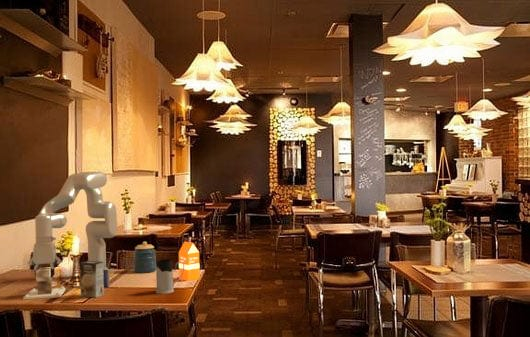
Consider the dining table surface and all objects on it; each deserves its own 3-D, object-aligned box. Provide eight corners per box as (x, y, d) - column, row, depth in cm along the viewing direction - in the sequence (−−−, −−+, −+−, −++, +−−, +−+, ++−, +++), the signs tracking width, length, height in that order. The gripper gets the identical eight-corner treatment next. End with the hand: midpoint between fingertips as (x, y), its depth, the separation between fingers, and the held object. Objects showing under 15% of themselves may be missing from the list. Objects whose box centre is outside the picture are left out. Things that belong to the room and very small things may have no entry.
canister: (138, 269, 321) (138, 240, 321) (159, 269, 319) (158, 239, 319) (130, 273, 308) (129, 243, 308) (151, 273, 306) (151, 242, 306)
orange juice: (187, 281, 282) (187, 243, 282) (178, 278, 289) (178, 242, 289) (200, 279, 287) (199, 242, 287) (191, 276, 294) (190, 240, 294)
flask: (110, 286, 274) (110, 265, 274) (106, 287, 271) (106, 266, 271) (96, 285, 277) (95, 264, 277) (92, 286, 275) (91, 265, 275)
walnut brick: (52, 290, 262) (52, 280, 262) (51, 293, 255) (50, 283, 255) (39, 291, 261) (39, 281, 261) (37, 294, 253) (37, 284, 253)
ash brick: (52, 277, 261) (52, 267, 262) (49, 280, 254) (49, 270, 254) (39, 278, 260) (39, 267, 260) (36, 281, 252) (35, 270, 252)
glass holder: (154, 290, 261) (153, 260, 261) (182, 287, 267) (181, 257, 267) (157, 294, 253) (157, 262, 253) (187, 291, 259) (186, 260, 259)
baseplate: (65, 290, 267) (65, 286, 267) (59, 297, 251) (59, 293, 251) (31, 292, 264) (31, 288, 264) (23, 299, 248) (23, 295, 248)
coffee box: (79, 296, 252) (79, 262, 252) (88, 293, 258) (87, 260, 258) (96, 297, 249) (95, 263, 249) (104, 294, 255) (103, 261, 255)
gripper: (64, 238, 263) (64, 275, 263) (27, 240, 260) (27, 277, 260) (61, 240, 256) (62, 277, 256) (23, 242, 252) (23, 280, 252)
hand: (44, 277), depth 258 cm, fingers closed on ash brick, 6 cm apart
